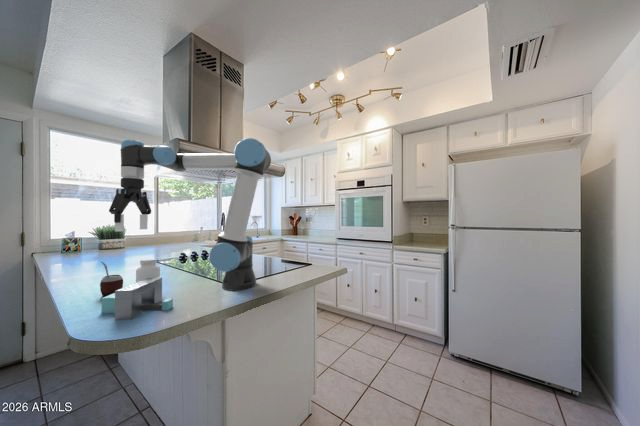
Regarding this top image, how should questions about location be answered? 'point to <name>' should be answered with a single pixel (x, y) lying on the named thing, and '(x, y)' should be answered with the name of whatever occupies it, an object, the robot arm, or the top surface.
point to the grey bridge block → (137, 297)
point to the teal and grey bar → (167, 304)
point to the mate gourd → (110, 283)
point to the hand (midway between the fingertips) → (132, 230)
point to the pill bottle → (147, 269)
